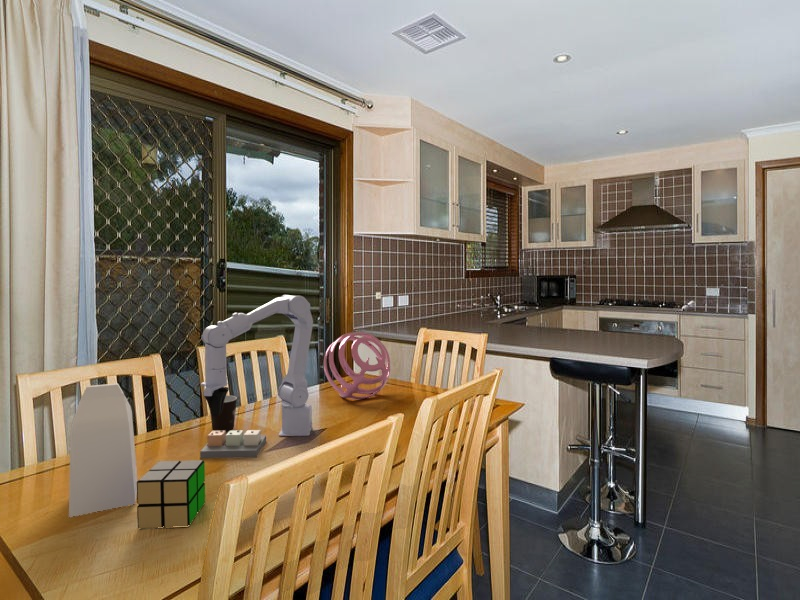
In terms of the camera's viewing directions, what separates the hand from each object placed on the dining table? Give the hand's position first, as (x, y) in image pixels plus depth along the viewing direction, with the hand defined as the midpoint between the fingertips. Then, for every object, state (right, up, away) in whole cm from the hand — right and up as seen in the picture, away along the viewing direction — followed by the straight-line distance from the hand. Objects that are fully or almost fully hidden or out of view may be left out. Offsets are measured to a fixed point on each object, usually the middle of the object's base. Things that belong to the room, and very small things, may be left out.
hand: (216, 414), depth 132 cm
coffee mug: (-5, -9, +19) cm, 22 cm away
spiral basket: (+35, -8, +58) cm, 69 cm away
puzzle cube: (+5, -13, -35) cm, 38 cm away
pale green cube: (+5, -9, +1) cm, 10 cm away
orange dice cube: (0, -9, +1) cm, 9 cm away
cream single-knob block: (+10, -9, +1) cm, 13 cm away
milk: (-14, -12, -28) cm, 34 cm away
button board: (+5, -10, +1) cm, 12 cm away
